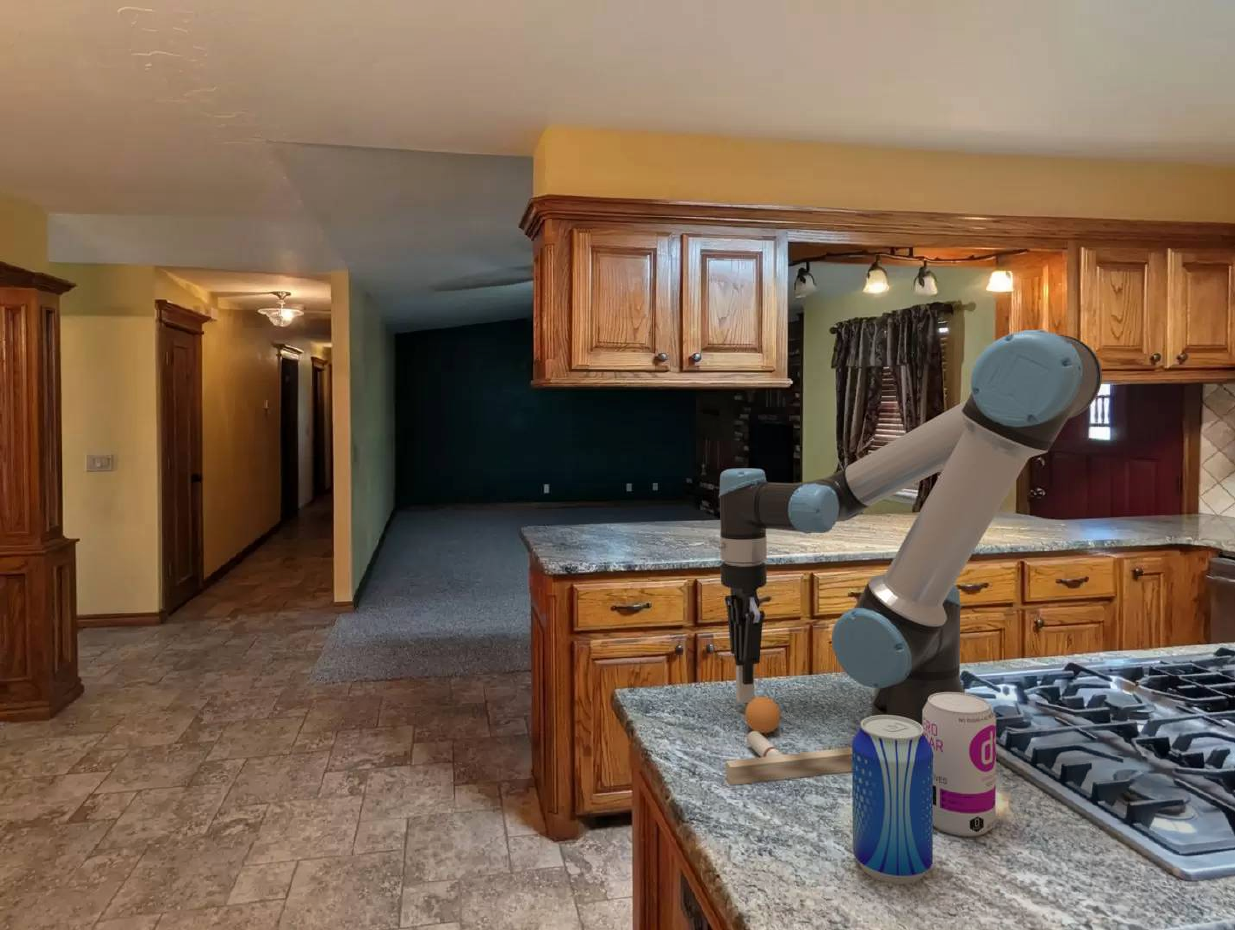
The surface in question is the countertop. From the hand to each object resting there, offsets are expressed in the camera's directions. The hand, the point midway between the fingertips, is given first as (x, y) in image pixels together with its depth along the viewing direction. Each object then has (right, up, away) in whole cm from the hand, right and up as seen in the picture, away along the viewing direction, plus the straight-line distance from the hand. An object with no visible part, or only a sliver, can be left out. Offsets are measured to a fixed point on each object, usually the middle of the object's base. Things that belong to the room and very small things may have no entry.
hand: (745, 700), depth 138 cm
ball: (+1, 0, -9) cm, 9 cm away
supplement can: (+20, -4, -38) cm, 43 cm away
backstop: (+5, -3, -23) cm, 24 cm away
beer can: (+9, -5, -47) cm, 48 cm away
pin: (-1, -2, -14) cm, 14 cm away
